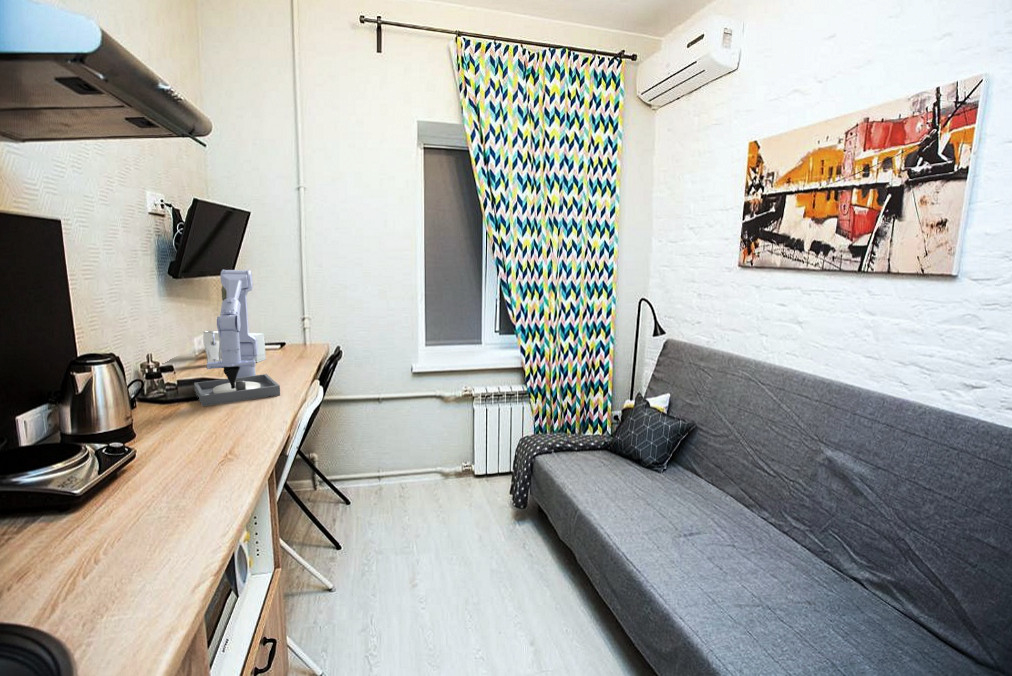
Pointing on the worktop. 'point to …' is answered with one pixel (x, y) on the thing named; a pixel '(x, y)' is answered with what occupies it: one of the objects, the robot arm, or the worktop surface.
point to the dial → (238, 386)
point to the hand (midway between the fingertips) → (233, 387)
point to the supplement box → (259, 346)
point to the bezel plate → (208, 398)
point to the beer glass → (212, 346)
